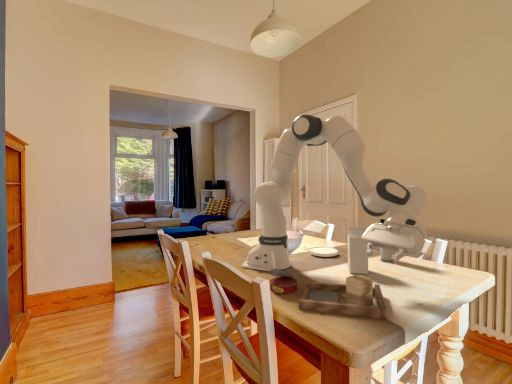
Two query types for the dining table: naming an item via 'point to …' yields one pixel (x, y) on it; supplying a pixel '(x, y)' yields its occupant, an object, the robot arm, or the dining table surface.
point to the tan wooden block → (359, 290)
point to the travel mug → (386, 251)
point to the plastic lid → (324, 252)
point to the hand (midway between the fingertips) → (380, 258)
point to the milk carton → (357, 251)
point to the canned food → (282, 282)
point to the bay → (327, 301)
